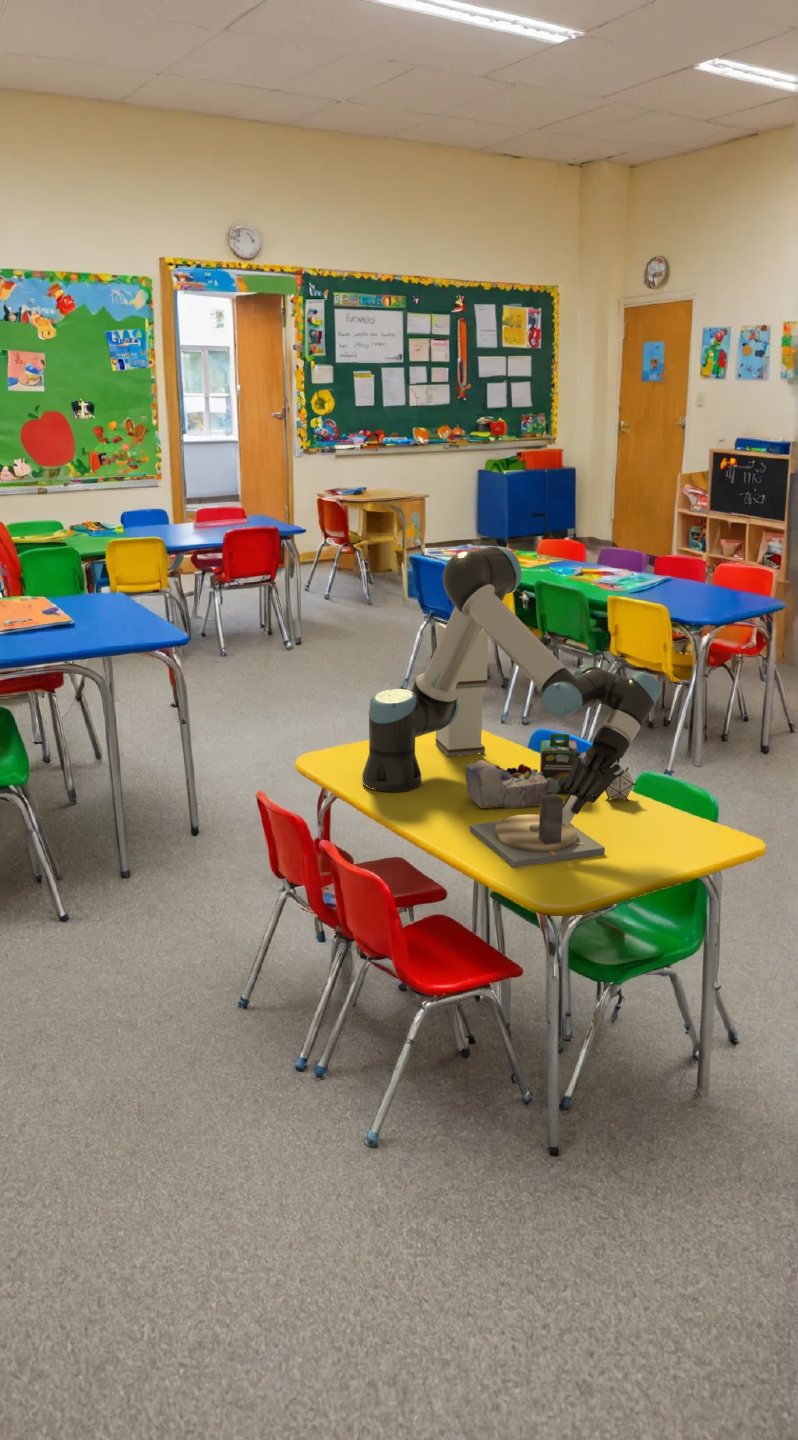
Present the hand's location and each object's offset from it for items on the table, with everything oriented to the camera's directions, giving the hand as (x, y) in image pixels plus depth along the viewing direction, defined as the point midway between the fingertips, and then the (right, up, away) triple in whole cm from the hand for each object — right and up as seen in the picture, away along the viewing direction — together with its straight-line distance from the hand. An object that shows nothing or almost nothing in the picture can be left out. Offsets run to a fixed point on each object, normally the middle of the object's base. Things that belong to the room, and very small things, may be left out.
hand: (561, 823), depth 243 cm
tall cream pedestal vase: (-18, +14, +71) cm, 75 cm away
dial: (-5, -3, +6) cm, 8 cm away
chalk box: (+5, +5, +41) cm, 41 cm away
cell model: (-9, +2, +31) cm, 32 cm away
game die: (+18, +3, +34) cm, 38 cm away
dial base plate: (-5, -5, +6) cm, 9 cm away
